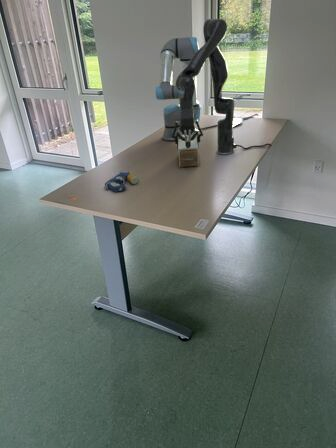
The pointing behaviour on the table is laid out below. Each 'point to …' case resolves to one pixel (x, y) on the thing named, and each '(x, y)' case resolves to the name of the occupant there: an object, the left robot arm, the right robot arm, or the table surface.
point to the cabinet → (183, 147)
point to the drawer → (188, 157)
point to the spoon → (236, 121)
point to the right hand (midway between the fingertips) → (188, 147)
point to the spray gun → (120, 181)
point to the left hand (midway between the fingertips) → (188, 148)
